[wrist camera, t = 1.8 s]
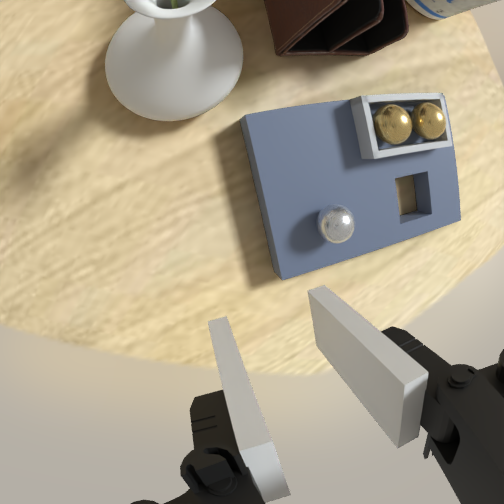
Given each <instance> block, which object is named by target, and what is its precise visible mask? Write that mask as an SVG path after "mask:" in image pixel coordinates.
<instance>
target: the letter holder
mask: <svg viewBox="0 0 504 504" xmlns="http://www.w3.org/2000/svg"><path fill="white" fill-rule="evenodd" d="M264 2H265V6H266V10H267V14H268V18H269V22H270V26H271V30H272V35H273V39H274V45H275V50H276V54H277V55H278V56H291V55H366V56H367V55H370V54H372V53H375V52H376V51H378V50H381V49H382V48H384V47H386V46H388V45H390V44H392V43H394V42H396V41H399V40H401V39H403V38H404V37H405V36H406V35H407V33H408V30H409V25H408V15H407V9H406V5H405V1H404V0H264Z"/></svg>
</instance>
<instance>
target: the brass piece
mask: <svg viewBox="0 0 504 504" xmlns="http://www.w3.org/2000/svg"><path fill="white" fill-rule="evenodd" d="M372 121H373V125H374V130H375V134H376V135H377V137H378V138H379V139H380V140H382V141H383V142H385V143H388V144H394V145H395V144H400V143H402V142H404V141H406V140H407V139H408V137H409V136H410V134H411V131H412V121H411V118H410V116H409V114H408V113H407V112H406V110H404V109H403V108H402V107H400V106H398V105H394V104H387V105H384V106H382V107H380V108H379V109H378V110H377V111H376V112H375V114H374V116H373V120H372Z"/></svg>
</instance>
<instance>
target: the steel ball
mask: <svg viewBox="0 0 504 504" xmlns="http://www.w3.org/2000/svg"><path fill="white" fill-rule="evenodd" d="M316 225H317V230H318V233H319V234H320V236H321V237H322V238H323V239H324V240H326V241H327V242H330V243H335V244H338V243H342V242H345V241H346V240H348V239H349V238H350V237H351V236H352V234H353V232H354V230H355V219H354V216H353V214H352V212H351V211H350V210H349V209H348V208H346V207H345V206H343V205H339V204H332V205H329V206H327V207H325V208H324V209H322V210H321V212H320V213H319V215H318V217H317V222H316Z"/></svg>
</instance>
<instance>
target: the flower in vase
mask: <svg viewBox="0 0 504 504" xmlns="http://www.w3.org/2000/svg"><path fill="white" fill-rule="evenodd" d="M124 1H125V2H126V4H127V5H128V6H129V7H130V8H131V9H132V10H134V11H136V12H135V13H134V14H132V15H131V16H130V17H128V18H127V19H126V20H125V21H124V22H123V23H122V25H121V26H120V27H119V28H118V30H117V31H116V33H115V34H114V36H113V38H112V40H111V42H110V44H109V47H108V50H107V53H106V59H105V73H106V78H107V82H108V85H109V87H110V89H111V91H112V93H113V94H114V96H115V97H116V99H117V100H118V101H119V102H120V103H121V104H122V105H123V106H125V107H126V108H127V109H128V110H130V111H132V112H134V113H135V114H137V115H140V116H142V117H145V118H149V119H152V120H159V121H178V120H184V119H189V118H192V117H195V116H198V115H200V114H203V113H205V112H207V111H209V110H210V109H212V108H213V107H215V106H216V105H218V104H219V103H220V102H221V101H223V100H224V98H225V97H226V96H227V95H228V94H229V93H230V92H231V90H232V89H233V88H234V86H235V84H236V83H237V81H238V79H239V76H240V73H241V70H242V66H243V47H242V42H241V39H240V37H239V34H238V32H237V31H236V29H235V27H234V25H233V24H232V23H231V22H230V20H229V19H228V18H227V17H226V16H225V15H224V14H223V13H221V12H220V11H219V10H217V9H216V8H214V7H212V6H210V5H211V4H213V3H214V2H215V1H216V0H124Z"/></svg>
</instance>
